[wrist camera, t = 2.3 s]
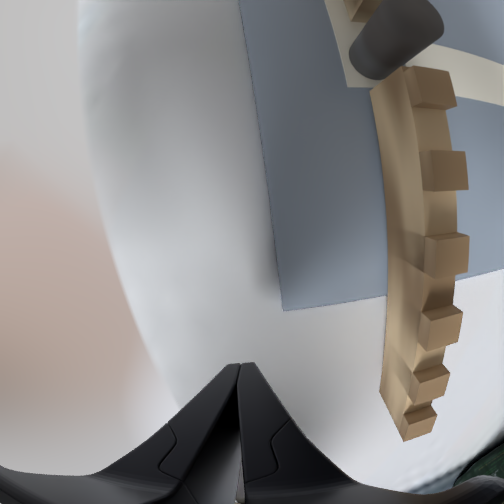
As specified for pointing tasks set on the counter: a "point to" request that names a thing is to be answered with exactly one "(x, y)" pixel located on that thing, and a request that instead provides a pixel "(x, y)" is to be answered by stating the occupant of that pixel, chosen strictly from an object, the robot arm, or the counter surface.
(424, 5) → the fixed fence section
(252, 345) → the counter surface
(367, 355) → the counter surface
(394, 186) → the folding fence panel
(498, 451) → the coffee jar
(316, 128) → the card
